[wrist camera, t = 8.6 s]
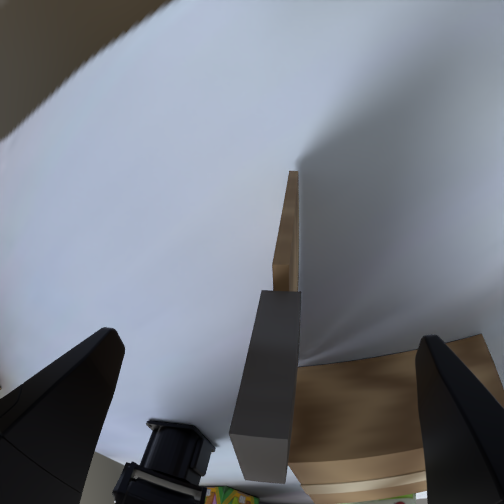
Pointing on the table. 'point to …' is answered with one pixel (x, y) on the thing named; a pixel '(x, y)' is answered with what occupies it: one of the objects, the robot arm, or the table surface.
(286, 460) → the side flap
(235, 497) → the chalk box
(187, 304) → the table surface
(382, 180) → the table surface
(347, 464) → the carton
